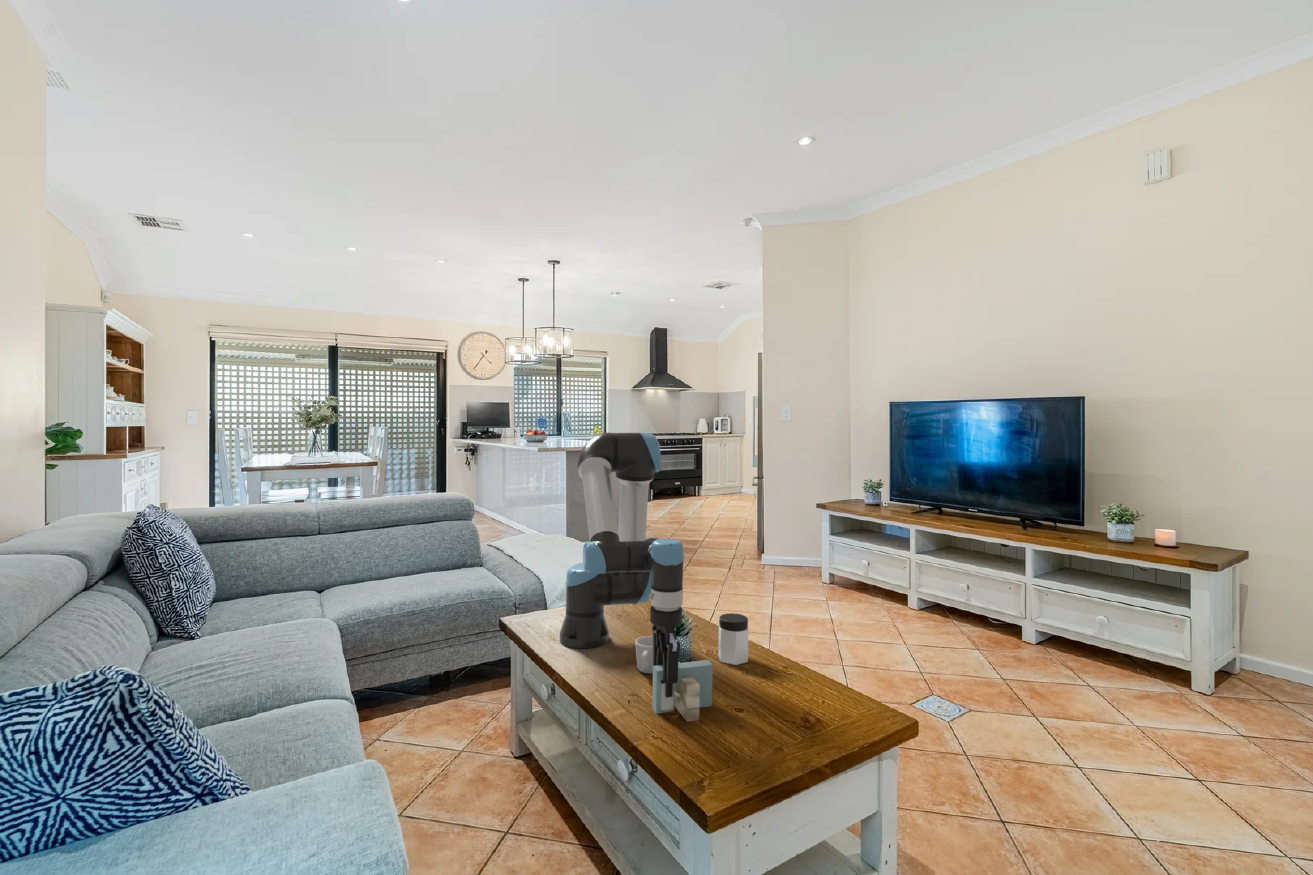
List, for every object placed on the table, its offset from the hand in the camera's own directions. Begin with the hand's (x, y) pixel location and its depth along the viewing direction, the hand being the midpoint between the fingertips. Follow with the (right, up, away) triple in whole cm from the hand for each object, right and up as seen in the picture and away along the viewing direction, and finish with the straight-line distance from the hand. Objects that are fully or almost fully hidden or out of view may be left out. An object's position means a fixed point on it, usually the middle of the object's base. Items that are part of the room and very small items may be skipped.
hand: (664, 704), depth 141 cm
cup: (-4, -1, +21) cm, 21 cm away
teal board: (+4, -1, +1) cm, 5 cm away
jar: (+20, -1, +31) cm, 37 cm away
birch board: (+4, -1, +1) cm, 5 cm away
